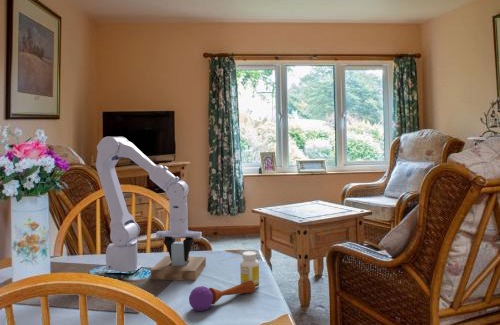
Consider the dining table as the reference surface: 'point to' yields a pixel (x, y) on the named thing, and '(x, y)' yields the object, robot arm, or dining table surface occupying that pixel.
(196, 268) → the socket block
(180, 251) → the peg
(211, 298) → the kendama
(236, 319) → the dining table surface
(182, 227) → the robot arm
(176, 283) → the dining table surface
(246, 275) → the supplement bottle
